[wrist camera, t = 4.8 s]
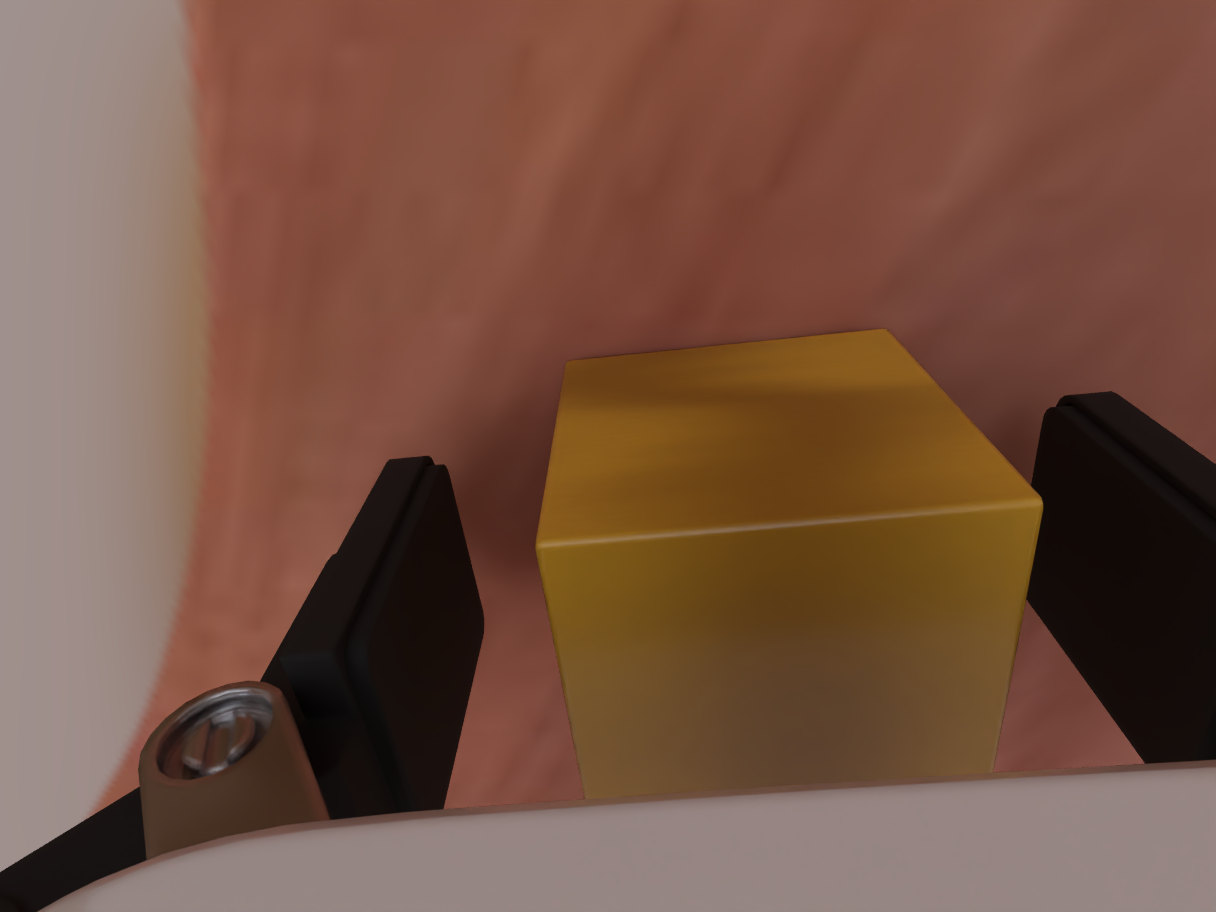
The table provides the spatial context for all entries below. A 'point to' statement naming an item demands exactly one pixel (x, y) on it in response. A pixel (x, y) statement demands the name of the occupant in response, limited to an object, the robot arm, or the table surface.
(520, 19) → the table surface
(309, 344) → the table surface
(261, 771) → the robot arm
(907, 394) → the block
